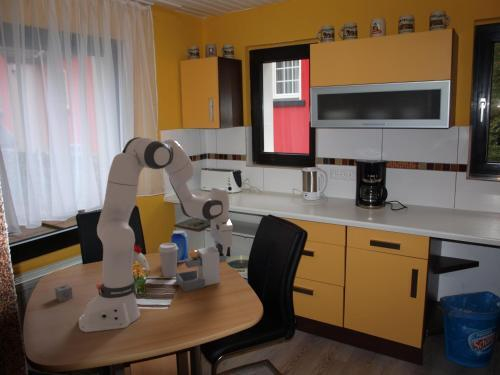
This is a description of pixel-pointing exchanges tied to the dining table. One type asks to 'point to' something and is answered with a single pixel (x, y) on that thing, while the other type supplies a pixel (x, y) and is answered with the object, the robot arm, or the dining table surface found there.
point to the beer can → (180, 244)
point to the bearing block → (209, 265)
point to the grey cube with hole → (63, 293)
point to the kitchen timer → (140, 258)
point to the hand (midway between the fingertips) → (221, 251)
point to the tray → (189, 281)
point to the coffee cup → (168, 259)
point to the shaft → (198, 262)
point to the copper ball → (194, 254)
